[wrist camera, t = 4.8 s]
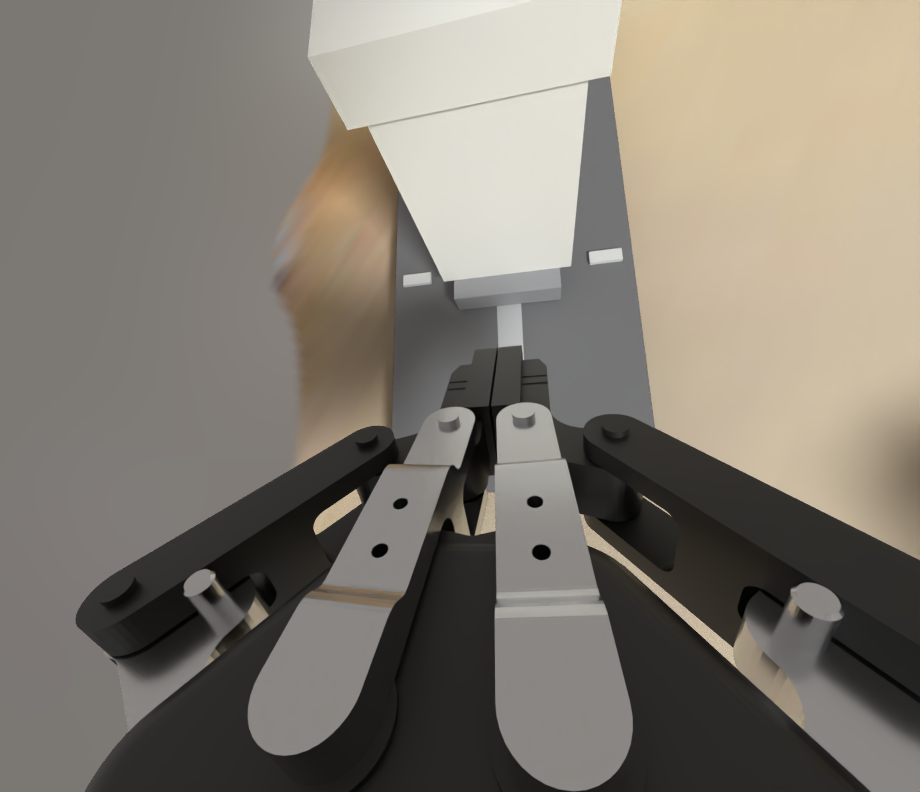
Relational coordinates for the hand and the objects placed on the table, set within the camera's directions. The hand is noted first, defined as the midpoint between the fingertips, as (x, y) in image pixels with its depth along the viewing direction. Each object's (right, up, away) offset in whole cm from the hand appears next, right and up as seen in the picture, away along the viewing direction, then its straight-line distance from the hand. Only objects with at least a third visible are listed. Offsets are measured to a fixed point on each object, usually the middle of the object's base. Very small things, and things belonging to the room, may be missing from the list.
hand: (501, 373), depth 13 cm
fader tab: (+1, +6, +7) cm, 9 cm away
